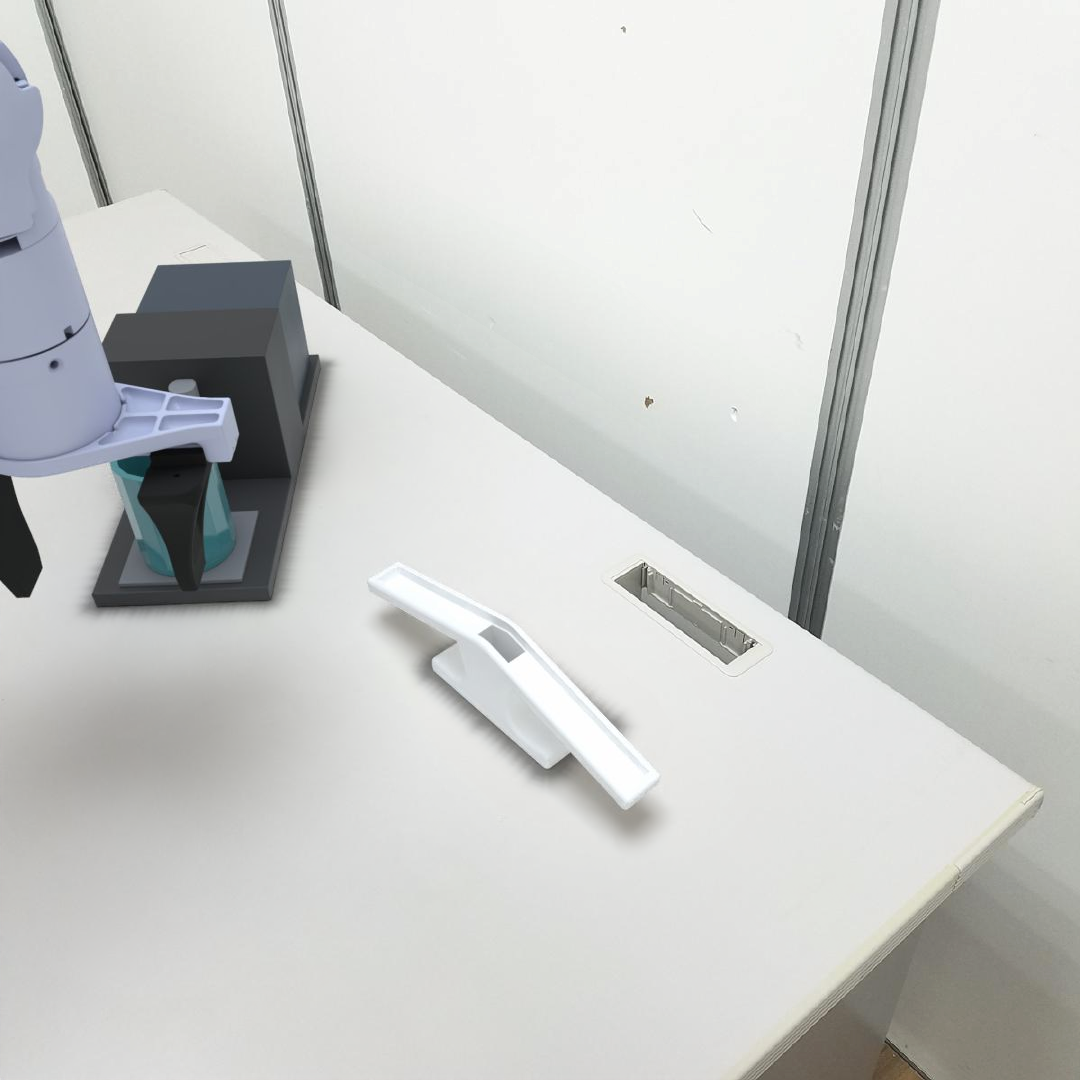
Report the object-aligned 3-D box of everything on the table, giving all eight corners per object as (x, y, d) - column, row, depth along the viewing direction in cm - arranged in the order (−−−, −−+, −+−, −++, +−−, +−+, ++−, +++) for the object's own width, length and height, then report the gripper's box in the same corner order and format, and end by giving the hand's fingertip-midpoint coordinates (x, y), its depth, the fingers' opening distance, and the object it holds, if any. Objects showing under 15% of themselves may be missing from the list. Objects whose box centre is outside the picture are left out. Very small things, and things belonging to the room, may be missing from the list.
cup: (151, 588, 64) (117, 491, 60) (135, 531, 68) (102, 436, 63) (245, 560, 66) (219, 464, 61) (225, 506, 70) (199, 411, 65)
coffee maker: (271, 600, 65) (234, 461, 59) (95, 607, 65) (39, 468, 58) (321, 365, 83) (297, 239, 77) (184, 370, 83) (149, 245, 77)
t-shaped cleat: (428, 581, 66) (418, 509, 62) (685, 790, 55) (692, 717, 51) (371, 616, 64) (358, 543, 60) (626, 840, 53) (629, 767, 49)
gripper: (220, 266, 47) (280, 517, 56) (-132, 280, 47) (-16, 529, 56) (185, 360, 42) (257, 620, 51) (-212, 375, 42) (-69, 633, 51)
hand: (111, 579), depth 53 cm, fingers open, 7 cm apart
